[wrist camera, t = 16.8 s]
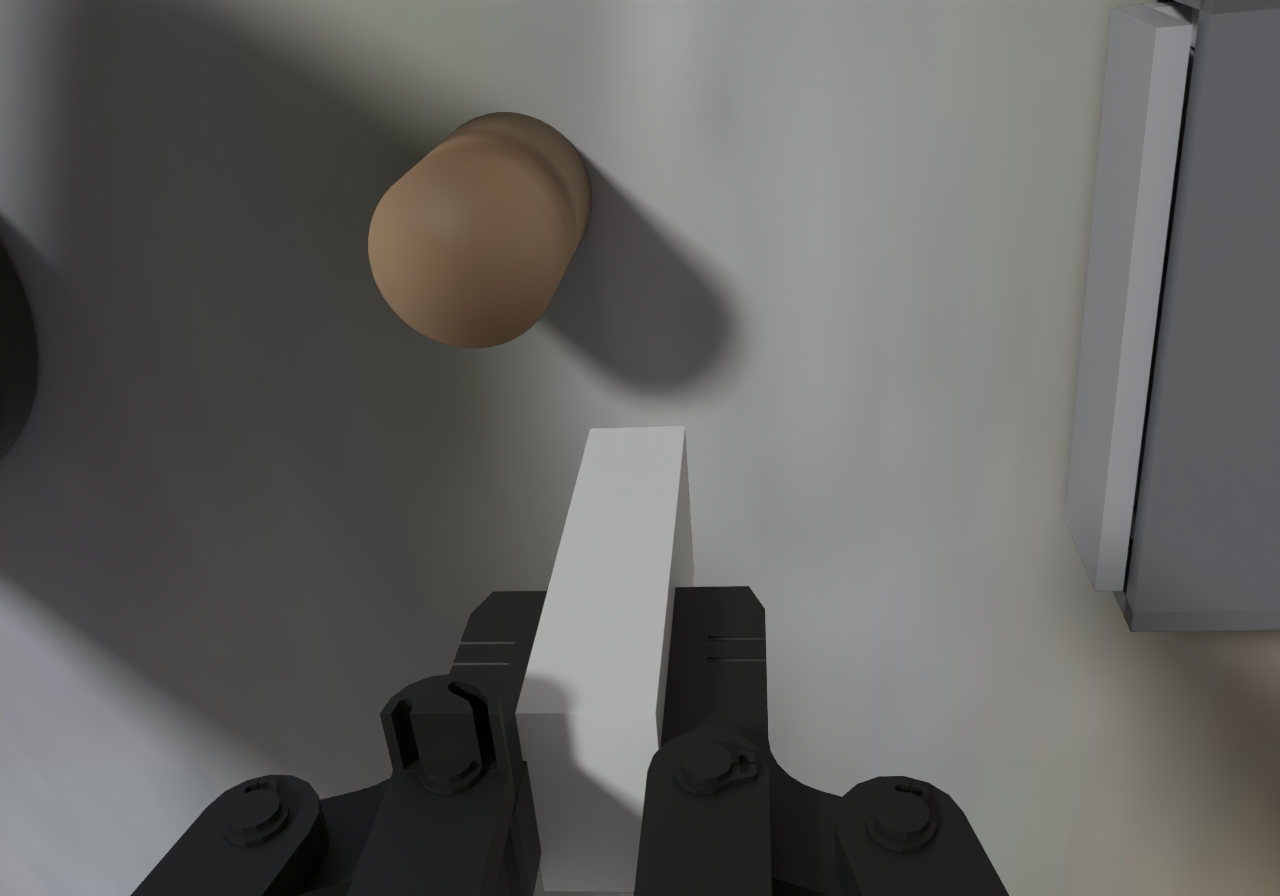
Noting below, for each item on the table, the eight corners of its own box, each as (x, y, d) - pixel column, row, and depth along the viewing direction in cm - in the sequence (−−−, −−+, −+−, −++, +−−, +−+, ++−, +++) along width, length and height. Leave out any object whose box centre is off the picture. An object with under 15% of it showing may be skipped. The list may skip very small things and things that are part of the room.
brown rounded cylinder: (446, 278, 36) (388, 353, 30) (416, 119, 33) (349, 169, 28) (600, 269, 35) (569, 344, 30) (581, 105, 33) (544, 154, 27)
